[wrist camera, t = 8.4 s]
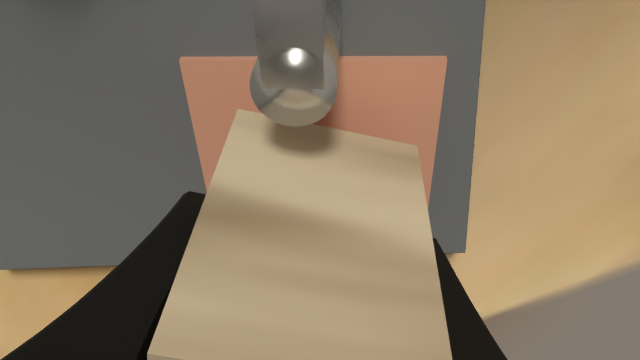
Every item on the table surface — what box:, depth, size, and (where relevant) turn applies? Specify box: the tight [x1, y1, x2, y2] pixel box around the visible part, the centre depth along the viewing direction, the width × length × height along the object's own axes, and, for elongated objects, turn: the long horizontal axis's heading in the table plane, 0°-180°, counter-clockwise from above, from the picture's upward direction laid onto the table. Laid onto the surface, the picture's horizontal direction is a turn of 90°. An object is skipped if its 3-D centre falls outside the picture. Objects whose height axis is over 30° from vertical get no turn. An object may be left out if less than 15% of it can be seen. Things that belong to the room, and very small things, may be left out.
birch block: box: [147, 109, 452, 360], centre depth 10 cm, size 4×4×6 cm
